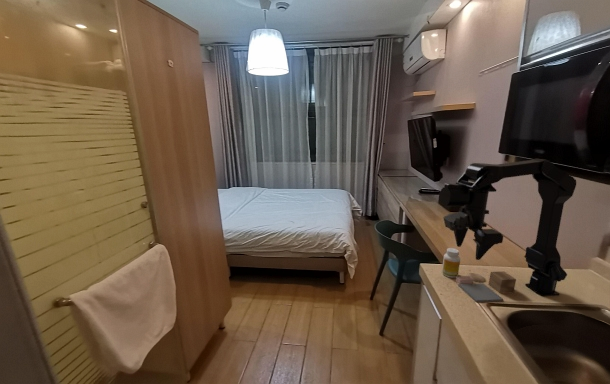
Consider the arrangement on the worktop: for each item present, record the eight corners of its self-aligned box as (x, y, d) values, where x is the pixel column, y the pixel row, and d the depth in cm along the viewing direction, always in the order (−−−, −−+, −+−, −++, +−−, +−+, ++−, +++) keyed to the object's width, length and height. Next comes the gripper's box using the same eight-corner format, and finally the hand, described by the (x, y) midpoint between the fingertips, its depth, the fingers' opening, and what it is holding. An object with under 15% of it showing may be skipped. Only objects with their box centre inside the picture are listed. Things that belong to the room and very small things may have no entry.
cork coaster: (477, 274, 103) (477, 272, 103) (489, 283, 97) (489, 281, 97) (462, 274, 103) (462, 273, 103) (473, 283, 97) (473, 282, 97)
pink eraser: (468, 281, 98) (469, 276, 98) (472, 284, 96) (473, 279, 96) (455, 281, 98) (456, 276, 97) (459, 284, 96) (459, 279, 95)
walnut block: (501, 284, 96) (504, 271, 95) (513, 292, 91) (516, 279, 90) (488, 284, 96) (490, 271, 95) (499, 293, 91) (501, 279, 90)
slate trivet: (482, 284, 96) (483, 283, 95) (503, 300, 87) (503, 299, 87) (458, 285, 95) (458, 284, 95) (476, 302, 86) (476, 300, 86)
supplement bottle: (459, 278, 99) (463, 254, 97) (443, 277, 100) (447, 252, 98) (455, 271, 104) (458, 247, 102) (439, 269, 105) (443, 246, 103)
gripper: (433, 197, 92) (428, 241, 95) (470, 215, 74) (462, 268, 77) (465, 197, 93) (458, 240, 96) (509, 214, 74) (499, 267, 78)
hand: (467, 252), depth 87 cm, fingers open, 9 cm apart
